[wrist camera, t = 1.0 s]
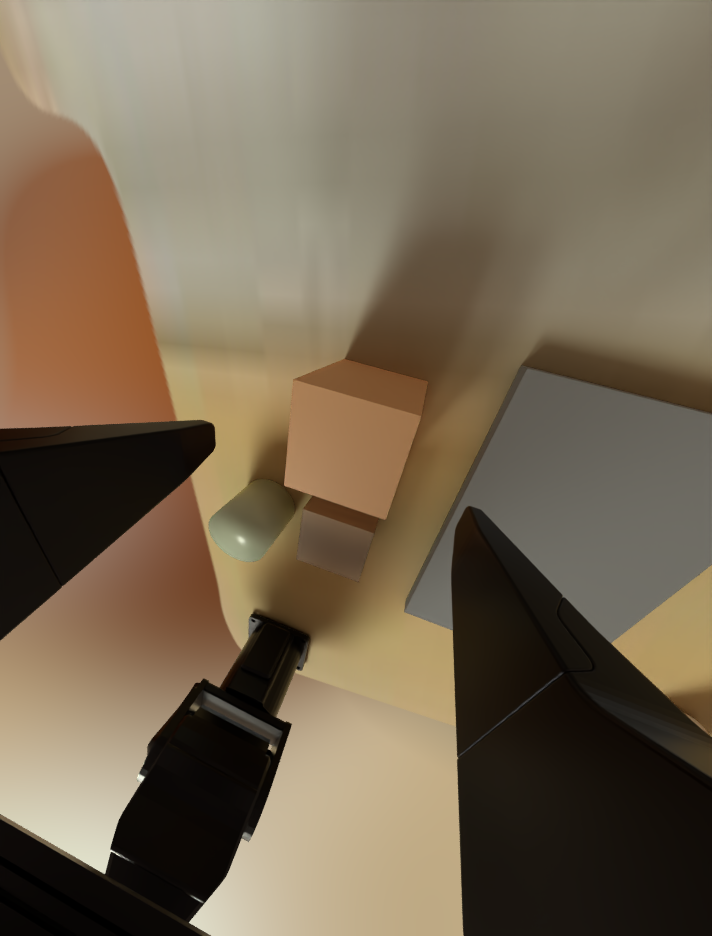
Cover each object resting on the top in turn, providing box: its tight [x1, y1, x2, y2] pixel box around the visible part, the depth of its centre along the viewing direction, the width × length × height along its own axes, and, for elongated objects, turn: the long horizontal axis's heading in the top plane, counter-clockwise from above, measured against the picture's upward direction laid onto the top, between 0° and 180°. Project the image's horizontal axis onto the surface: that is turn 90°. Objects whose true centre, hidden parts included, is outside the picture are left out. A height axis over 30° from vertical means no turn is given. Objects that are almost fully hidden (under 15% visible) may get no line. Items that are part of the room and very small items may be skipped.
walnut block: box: [296, 496, 379, 582], centre depth 17 cm, size 4×4×4 cm
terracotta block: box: [284, 359, 428, 520], centre depth 13 cm, size 4×4×6 cm
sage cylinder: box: [209, 479, 295, 562], centre depth 19 cm, size 4×4×4 cm
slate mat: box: [404, 365, 712, 643], centre depth 16 cm, size 18×12×1 cm, turn 169°
